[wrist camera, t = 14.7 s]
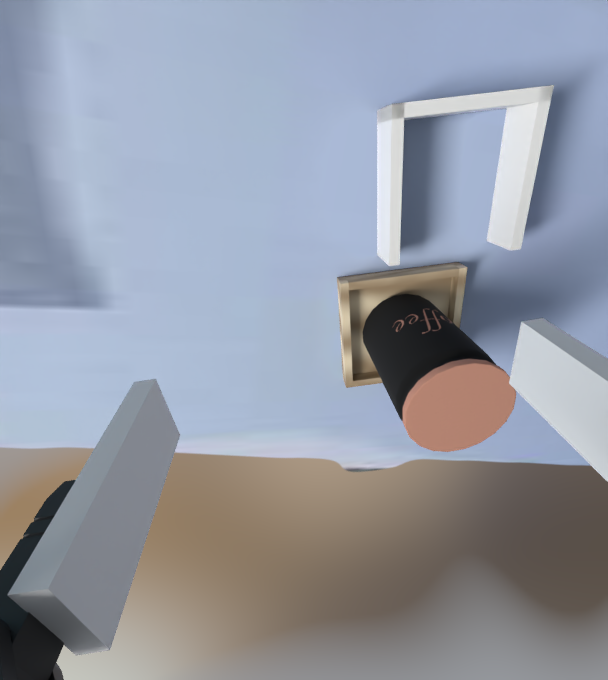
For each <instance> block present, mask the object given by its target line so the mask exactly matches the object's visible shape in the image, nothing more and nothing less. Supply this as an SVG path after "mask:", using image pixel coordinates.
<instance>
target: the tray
mask: <svg viewBox="0 0 608 680" xmlns="http://www.w3.org/2000/svg"><path fill="white" fill-rule="evenodd" d="M466 274H467V267H466V266H464V265H462V264H460V263H459V262H454V263H446V264H438V265H430V266H423V267H415V268H407V269H399V270H391V271H384V272H376V273H368V274H360V275H352V276H345V277H337V284H338V300H339V317H340V334H341V351H342V368H343V379H344V382H345V385H346V388H348V387H355V386H363V385H370V384H377V383H383V382H382V380H381V378H380V376H379V374H378V372H377V370H376V368H375V366H374V364H373V361H372V359H371V357H370V355H369V353H368V351H367V349H366V347H365V345H364V343H363V328H364V325H365V321H366V319H367V317H368V316H369V314H370V313H371V311H372V310H373V309H374V308H375V307H376V306H377V305H378V304H379V303H381V302H382V301H384V300H386V299H388V298H390V297H392V296H395V295H401V294H413V295H419V296H421V297H423V298H425V299H427V300H429V301H430V302H431V303H432V304H433V305H434V306H436V307H437V308H438V309H439V310H440V311H441V312H442V313H443V314H444V315H445V316H446V317H447V318H448V319H450V320H451V321H452V322H453V323H454V324H455V325H456V326H457V327H458V328H460V320H461V313H462V305H463V297H464V290H465V282H466Z"/></svg>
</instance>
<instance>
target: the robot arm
mask: <svg viewBox="0 0 608 680" xmlns="http://www.w3.org/2000/svg"><path fill="white" fill-rule="evenodd" d="M509 384H510V385H511V386H512V387H513V388H514V389H515V390H516V391H517V392H518V393H519V394H520V395H521V396H522V397H523V398H524V399H525V400H526V401H527V402H528V403H529V404H530V405H531V406H532V407H533V408H534V409H535V410H536V411H537V412H538V413H539V414H540V415H541V416H542V417H543V418H544V419H545V420H546V421H547V422H548V423H549V424H550V425H551V426H552V427H553V428H554V429H555V430H556V431H557V432H558V433H559V434H560V435H561V436H562V437H563V438H564V439H565V440H566V441H567V442H568V443H569V444H570V445H571V446H572V447H573V448H574V449H575V450H576V451H577V452H578V453H579V454H580V455H581V456H582V457H583V458H584V459H585V460H586V461H587V462H588V463H589V464H590V465H591V466H592V467H594V469H595V470H596V471H597V472H598V473H599V474H601V476H602V477H603V478H604V479H606V481H607V482H608V359H607V358H606V357H604V356H602V355H601V354H599V353H598V352H596V351H594V350H593V349H591V348H590V347H588V346H586V345H585V344H583V343H582V342H580V341H578V340H577V339H575V338H574V337H572V336H571V335H569V334H567V333H566V332H564V331H563V330H561V329H559V328H558V327H556V326H555V325H553V324H551V323H550V322H548V321H547V320H545V319H543V318H540V319H534V320H527V321H521V326H520V331H519V336H518V341H517V346H516V351H515V356H514V361H513V366H512V371H511V375H510V380H509ZM179 437H180V434H179V432H178V429H177V427H176V425H175V422H174V420H173V418H172V415H171V413H170V411H169V408H168V406H167V404H166V402H165V399H164V397H163V395H162V392H161V390H160V388H159V385H158V383H157V381H156V379H151V380H145V381H139V382H134V383H133V385H132V387H131V389H130V390H129V392H128V394H127V395H126V397H125V399H124V400H123V402H122V404H121V405H120V407H119V409H118V410H117V412H116V414H115V415H114V417H113V419H112V420H111V422H110V424H109V425H108V427H107V429H106V430H105V432H104V434H103V435H102V437H101V439H100V440H99V442H98V444H97V446H96V447H95V449H94V451H93V452H92V454H91V456H90V457H89V459H88V461H87V462H86V464H85V466H84V467H83V469H82V471H81V472H80V474H79V476H78V477H77V479H76V480H71V481H65V482H64V483H63V484H62V485H60V486H59V488H57V489H56V490H55V491H54V492H53V493H52V494H51V495H50V496H49V497H48V498H47V499H46V501H45V502H44V504H43V506H42V507H41V509H40V510H39V512H38V513H37V515H36V516H35V518H34V522H32V523H31V524H30V525H29V527H28V529H27V530H26V532H25V533H24V537H23V539H21V540H20V541H19V542H18V544H17V546H16V547H15V549H14V550H13V552H12V553H11V555H10V556H9V558H8V559H7V561H6V562H5V564H4V566H3V567H2V569H1V570H0V680H64V679H63V675H62V671H61V669H60V668H59V666H58V665H57V663H56V662H57V659H58V657H59V654H60V652H61V650H62V647H63V645H65V646H66V647H67V648H68V649H69V650H70V651H72V652H73V653H74V654H75V655H82V654H88V653H95V652H101V651H107V650H110V648H111V645H112V641H113V639H114V636H115V633H116V630H117V627H118V623H119V620H120V617H121V614H122V611H123V608H124V605H125V602H126V599H127V596H128V593H129V590H130V587H131V584H132V580H133V577H134V574H135V571H136V568H137V565H138V562H139V559H140V556H141V553H142V550H143V547H144V544H145V541H146V538H147V535H148V532H149V529H150V525H151V522H152V519H153V516H154V513H155V510H156V507H157V504H158V501H159V498H160V495H161V492H162V489H163V486H164V483H165V480H166V476H167V473H168V470H169V467H170V464H171V461H172V458H173V455H174V452H175V449H176V446H177V443H178V440H179Z"/></svg>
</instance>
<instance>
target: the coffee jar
mask: <svg viewBox="0 0 608 680" xmlns="http://www.w3.org/2000/svg"><path fill="white" fill-rule="evenodd" d="M363 343H364V345H365V347H366V349H367V351H368V353H369V355H370V357H371V359H372V361H373V364H374V366H375V368H376V370H377V372H378V374H379V376H380V378H381V380H382V382H383V384H384V386H385V388H386V390H387V392H388V394H389V396H390V398H391V400H392V402H393V404H394V407H395V409H396V411H397V413H398V415H399V417H400V419H401V420H402V421H403V423H404V426H405V428H406V430H407V433H408V435H409V437H410V438H411V439H412V440H413V441H415V442H416V443H417V444H418V445H419V446H421V447H424V448H427V449H429V450H432V451H444V452H450V451H456V450H461V449H466V448H468V447H471V446H473V445H476V444H478V443H480V442H482V441H484V440H485V439H487V438H488V437H490V436H491V435H493V434H494V433H495V432H496V431H497V430H498V429H499V428H500V427H501V426H502V425H503V424H504V423H505V422H506V421H507V419H508V417H509V415H510V414H511V412H512V410H513V409H514V404H515V399H516V391H515V389H514V388H513V387H512V386H511V385H510V384H509V380H510V377H509V376H508V374H507V373H506V372H505V371H504V370H503V369H502V368H500V367H499V366H497V365H496V364H495V363H494V362H493V361H492V359H491V358H490V357H489V356H488V355H487V354H486V353H485V352H484V351H483V350H482V349H481V348H480V347H479V346H478V345H477V344H475V343H474V342H473V341H472V340H471V339H470V338H469V337H468V336H467V335H466V334H465V333H464V332H462V331H461V330H460V329H459V328H458V327H457V326H456V325H455V324H454V323H453V322H452V321H451V320H450V319H448V318H447V317H446V316H445V315H444V314H443V313H442V312H441V311H440V310H439V309H438V308H437V307H436V306H434V305H433V304H432V303H431V302H430V301H429V300H427V299H425V298H423V297H421V296H419V295H413V294H401V295H395V296H392V297H390V298H388V299H386V300H384V301H382V302H381V303H379V304H378V305H377V306H376V307H375V308H374V309H373V310H372V311H371V313H370V314H369V316H368V317H367V319H366V321H365V325H364V328H363Z"/></svg>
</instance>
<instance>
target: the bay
mask: <svg viewBox="0 0 608 680" xmlns="http://www.w3.org/2000/svg"><path fill="white" fill-rule="evenodd" d="M553 87H554V85H550V86H542V87H533V88H525V89H516V90H508V91H499V92H491V93H482V94H473V95H465V96H456V97H448V98H439V99H431V100H422V101H414V102H405V103H396V104H391V105H388V106H386V107H384V108H381V109H379V110H377V255H378V256H379V257H380V258H381V259H382V260H383V261H384V262H385V263H386V264H388V265H389V266H394V265H400V234H401V203H402V171H403V140H404V120H412V119H420V118H428V117H437V116H445V115H454V114H462V113H471V112H479V111H488V110H496V109H505V108H507V111H506V117H505V124H504V130H503V137H502V143H501V150H500V157H499V163H498V170H497V176H496V183H495V189H494V196H493V203H492V209H491V216H490V222H489V229H488V235H487V241H488V242H491V243H493V244H496V245H498V246H501V247H503V248H505V249H508V250H510V251H511V250H519V249H521V245H522V241H523V236H524V231H525V226H526V221H527V216H528V211H529V206H530V201H531V196H532V191H533V186H534V181H535V176H536V171H537V166H538V161H539V157H540V152H541V147H542V142H543V137H544V132H545V127H546V122H547V117H548V112H549V107H550V102H551V97H552V92H553Z"/></svg>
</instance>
